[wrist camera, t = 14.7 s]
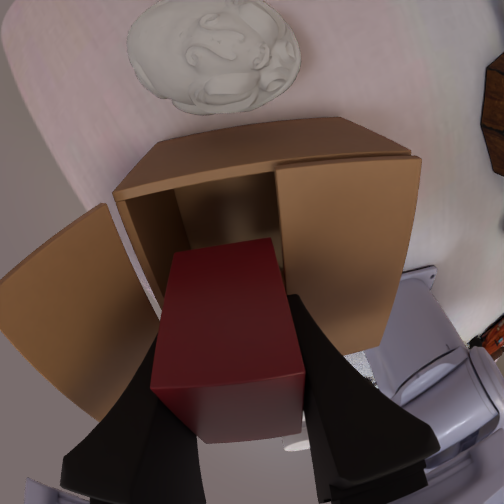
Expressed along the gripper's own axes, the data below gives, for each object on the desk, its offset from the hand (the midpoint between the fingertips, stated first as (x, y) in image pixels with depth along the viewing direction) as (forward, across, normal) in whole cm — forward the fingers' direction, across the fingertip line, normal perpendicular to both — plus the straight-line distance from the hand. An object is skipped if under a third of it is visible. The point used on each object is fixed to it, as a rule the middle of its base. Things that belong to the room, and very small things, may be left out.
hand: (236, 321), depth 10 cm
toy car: (+10, -42, +29) cm, 52 cm away
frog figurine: (+9, -1, -10) cm, 13 cm away
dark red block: (+1, 0, 0) cm, 1 cm away
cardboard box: (+9, -2, 0) cm, 9 cm away
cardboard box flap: (-1, +5, 0) cm, 5 cm away
